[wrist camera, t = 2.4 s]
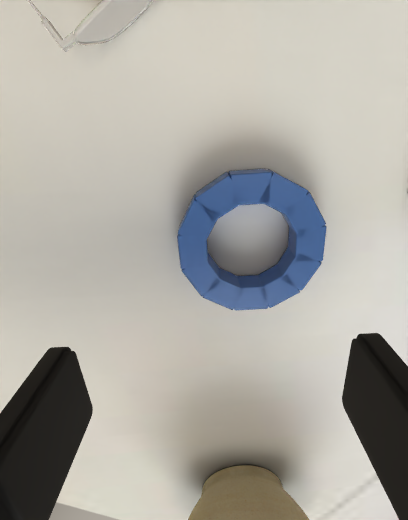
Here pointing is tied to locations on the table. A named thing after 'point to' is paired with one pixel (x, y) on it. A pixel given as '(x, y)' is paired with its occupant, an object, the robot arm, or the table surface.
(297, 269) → the blue ring
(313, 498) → the table surface
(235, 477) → the planter bowl
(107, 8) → the eyeglasses
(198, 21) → the table surface
